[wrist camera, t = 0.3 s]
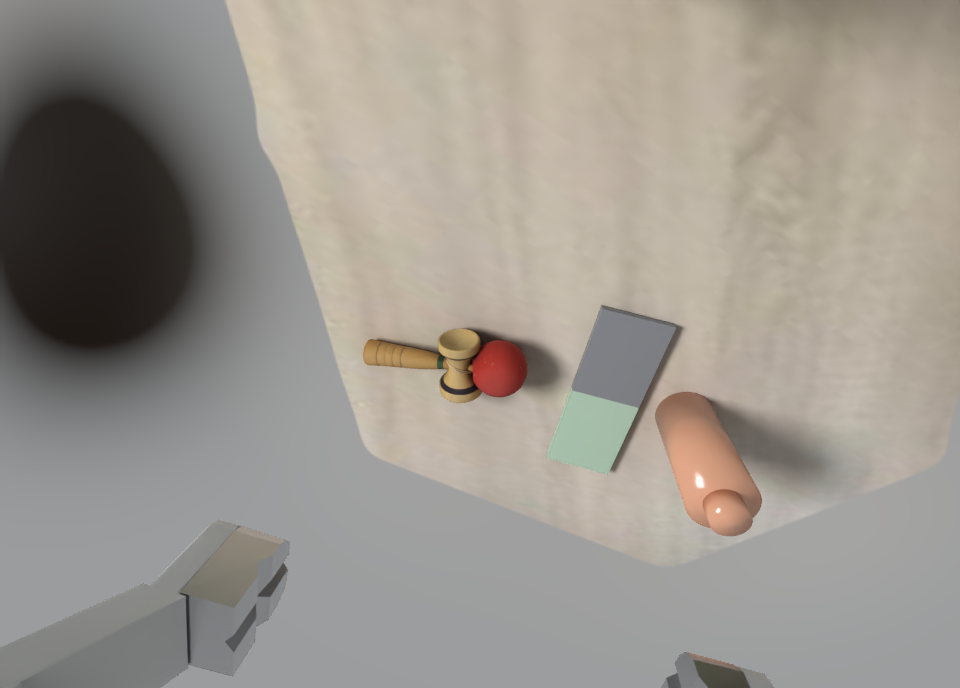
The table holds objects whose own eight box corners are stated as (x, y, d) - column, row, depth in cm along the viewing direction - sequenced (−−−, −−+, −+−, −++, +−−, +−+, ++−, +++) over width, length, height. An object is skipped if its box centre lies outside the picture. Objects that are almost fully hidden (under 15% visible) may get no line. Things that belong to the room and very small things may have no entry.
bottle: (668, 386, 48) (710, 485, 35) (722, 400, 48) (787, 506, 35) (647, 428, 51) (679, 536, 38) (698, 442, 51) (749, 555, 37)
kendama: (384, 375, 55) (529, 397, 50) (357, 394, 49) (517, 420, 44) (383, 314, 53) (534, 331, 48) (354, 325, 47) (522, 346, 42)
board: (601, 305, 45) (602, 308, 44) (674, 323, 45) (676, 327, 44) (547, 452, 55) (547, 458, 54) (607, 468, 54) (607, 474, 53)
